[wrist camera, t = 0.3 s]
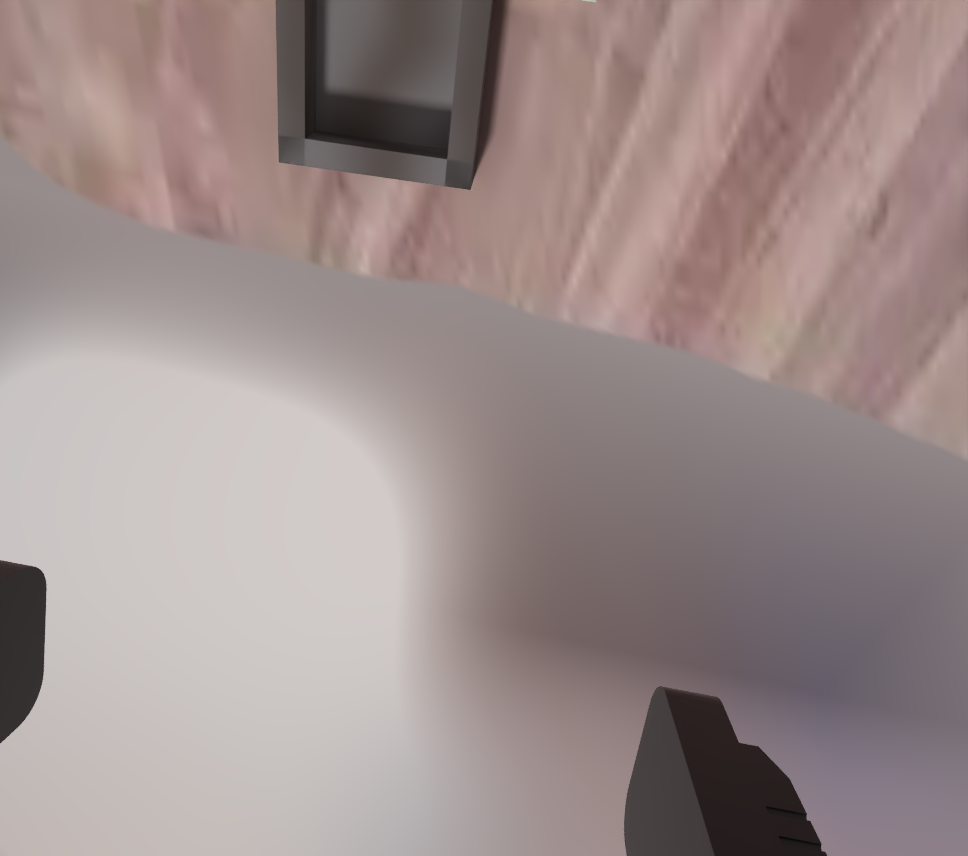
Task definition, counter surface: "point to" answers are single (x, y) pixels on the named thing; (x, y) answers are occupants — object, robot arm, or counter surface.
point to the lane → (383, 86)
